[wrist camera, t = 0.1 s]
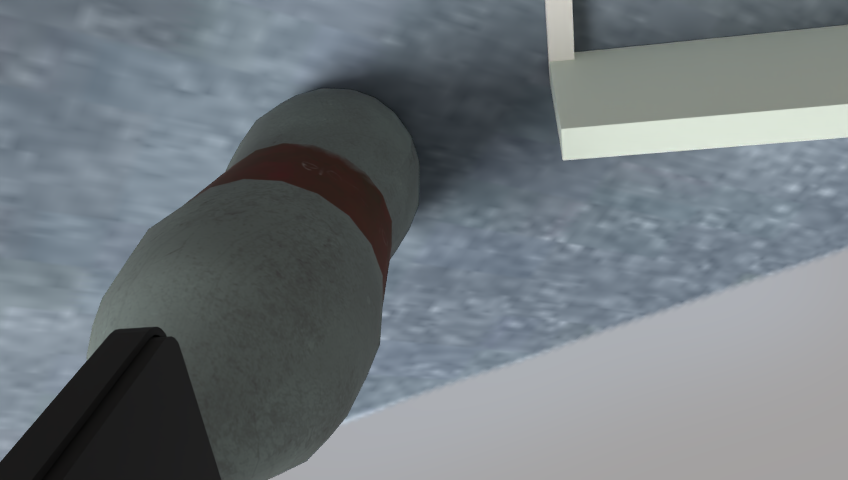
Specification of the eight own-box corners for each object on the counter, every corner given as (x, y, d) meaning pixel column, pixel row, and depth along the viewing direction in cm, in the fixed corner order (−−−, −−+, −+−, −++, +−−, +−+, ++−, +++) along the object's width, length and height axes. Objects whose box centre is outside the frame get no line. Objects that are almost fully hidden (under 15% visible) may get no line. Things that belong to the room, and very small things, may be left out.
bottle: (277, 241, 45) (-73, 804, 18) (239, 85, 41) (-274, 505, 14) (438, 228, 44) (317, 817, 17) (415, 65, 40) (211, 490, 13)
